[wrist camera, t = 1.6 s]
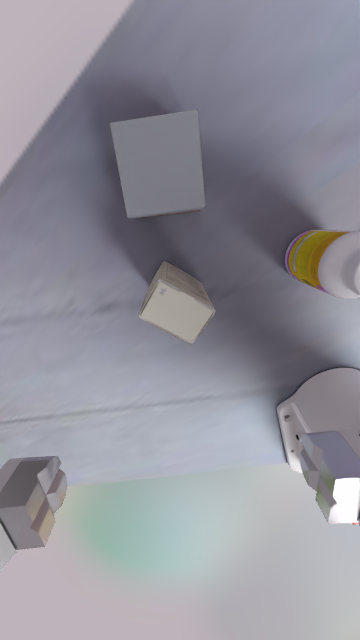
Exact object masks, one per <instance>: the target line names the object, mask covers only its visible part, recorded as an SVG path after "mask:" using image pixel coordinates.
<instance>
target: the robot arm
mask: <svg viewBox="0 0 360 640" xmlns="http://www.w3.org/2000/svg"><path fill="white" fill-rule="evenodd" d="M277 414H278V419H279V423H280V428H281V433H282V438H283V442H284V447H285V452H286V457H287V461H288V465H289V466H290V468H291V469H292V470H294V471H296V472H300V473H303V475H304V477H305V479H306V481H307V484H308V485H309V486H310V487H312V488H313V489H314V490H316V491H317V493H316V501H317V503H318V505H319V507H320V509H321V511H322V512H323V515H324V517H325V519H326V520H327V522H328V524H330V523H350V522H351V523H353V524H359V525H360V370H357V369H353V368H335V369H330V370H327V371H324V372H321V373H319V374H317V375H315V376H313V377H312V378H310V379H309V380H307V381H306V382H305V383H304V384H303V385H302V386H301V387H300V388H299V389H298V390H297V391H296V393H295V394H294V395H293V396H292V397H290V398H289V399H287V400H285V401H284V402H282V403H281V404H279V405H278V407H277ZM285 415H286V416H285ZM60 465H61V462H60V460H59V457H58V456H46V457H29V458H17V459H10V460H9V461H7V462H6V463H5V464H4V465H3V467H2V468H1V469H0V570H1V569H2V568H3V567H4V566H5V565H6V563H7V562H8V561H9V560H10V559H11V558H12V556H13V555H14V554H15V553H16V550H19V549H28V548H37V547H45V545H46V543H47V541H48V538H49V536H50V533H51V531H52V528H53V526H54V523H55V517H54V513H55V512H56V511H57V510H58V509H59V508H60V507H61V506H62V504H63V501H64V498H65V496H66V490H67V478H66V475H65V473H64V472H63V471H61V470H60V469H59V467H60Z"/></svg>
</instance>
